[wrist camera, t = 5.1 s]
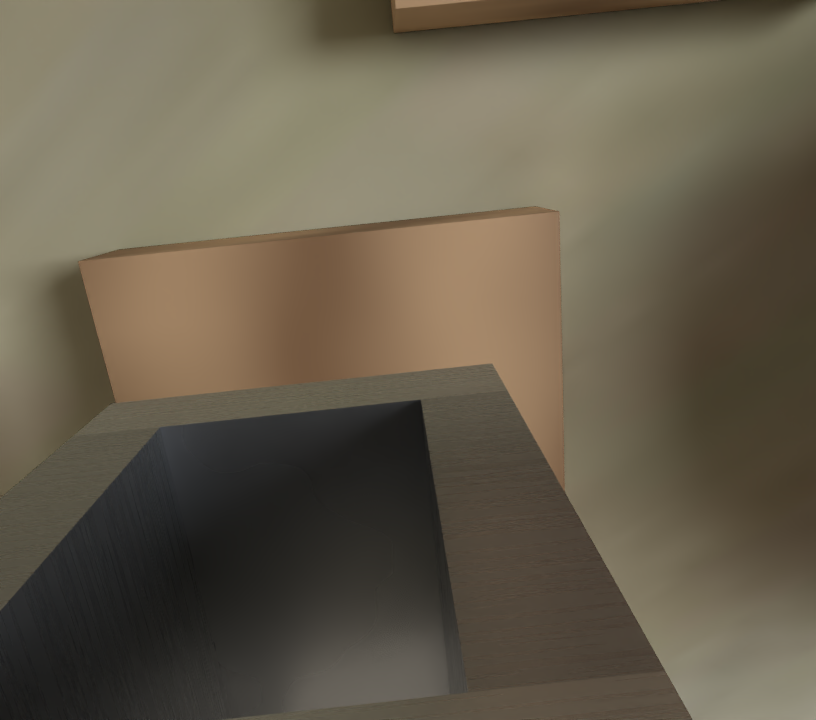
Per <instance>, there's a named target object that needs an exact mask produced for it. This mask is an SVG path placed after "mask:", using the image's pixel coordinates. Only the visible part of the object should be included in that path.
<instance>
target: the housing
mask: <svg viewBox="0 0 816 720" xmlns="http://www.w3.org/2000/svg"><path fill="white" fill-rule="evenodd" d="M0 720H692V718H691V716H690V714H689V713H688V711H687V709H686V707H685V705H684V704H683V702H682V700H681V698H680V697H679V695H678V693H677V691H676V689H675V688H674V686H673V684H672V682H671V681H670V679H669V677H668V675H667V673H666V672H665V670H664V668H663V666H662V665H661V663H660V661H659V659H658V657H657V656H656V654H655V652H654V650H653V649H652V647H651V645H650V643H649V641H648V640H647V638H646V636H645V634H644V633H643V631H642V629H641V627H640V625H639V624H638V622H637V620H636V618H635V616H634V615H633V613H632V611H631V609H630V608H629V606H628V604H627V602H626V600H625V599H624V597H623V595H622V593H621V592H620V590H619V588H618V586H617V584H616V583H615V581H614V579H613V577H612V576H611V574H610V572H609V570H608V568H607V567H606V565H605V563H604V561H603V560H602V558H601V556H600V554H599V552H598V551H597V549H596V547H595V545H594V544H593V542H592V540H591V538H590V536H589V535H588V533H587V531H586V529H585V528H584V526H583V524H582V522H581V520H580V519H579V517H578V515H577V513H576V512H575V510H574V508H573V506H572V504H571V503H570V501H569V499H568V497H567V496H566V494H565V492H564V490H563V488H562V487H561V485H560V483H559V481H558V479H557V478H556V476H555V474H554V472H553V471H552V469H551V467H550V465H549V463H548V462H547V460H546V458H545V456H544V455H543V453H542V451H541V449H540V447H539V446H538V444H537V442H536V440H535V439H534V437H533V435H532V433H531V431H530V430H529V428H528V426H527V424H526V423H525V421H524V419H523V417H522V415H521V414H520V412H519V410H518V408H517V407H516V405H515V403H514V401H513V399H512V398H511V396H510V394H509V392H508V391H507V389H506V387H505V385H504V383H503V382H502V380H501V378H500V376H499V375H498V373H497V371H496V369H495V367H494V366H493V364H492V363H491V364H481V365H472V366H462V367H453V368H443V369H434V370H424V371H415V372H405V373H396V374H386V375H377V376H367V377H358V378H348V379H339V380H329V381H320V382H310V383H301V384H291V385H282V386H273V387H263V388H254V389H244V390H235V391H225V392H216V393H206V394H197V395H187V396H178V397H168V398H159V399H149V400H140V401H130V402H121V403H111V404H110V405H109V406H108V407H106V408H105V409H104V410H103V411H102V412H101V413H99V414H98V415H97V416H96V417H95V418H94V419H92V420H91V421H90V422H89V423H88V424H87V425H85V426H84V427H83V428H82V429H81V430H80V431H78V432H77V433H76V434H75V435H74V436H73V437H71V438H70V439H69V440H68V441H67V442H66V443H64V444H63V445H62V446H61V447H60V448H59V449H57V450H56V451H55V452H54V453H53V454H52V455H50V456H49V457H48V458H47V459H46V460H45V461H43V462H42V463H41V464H40V465H39V466H38V467H36V468H35V469H34V470H33V471H32V472H31V473H29V474H28V475H27V476H26V477H25V478H24V479H22V480H21V481H20V482H19V483H18V484H17V485H15V486H14V487H13V488H12V489H11V490H10V491H8V492H7V493H6V494H5V495H4V496H3V497H1V498H0Z"/></svg>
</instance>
